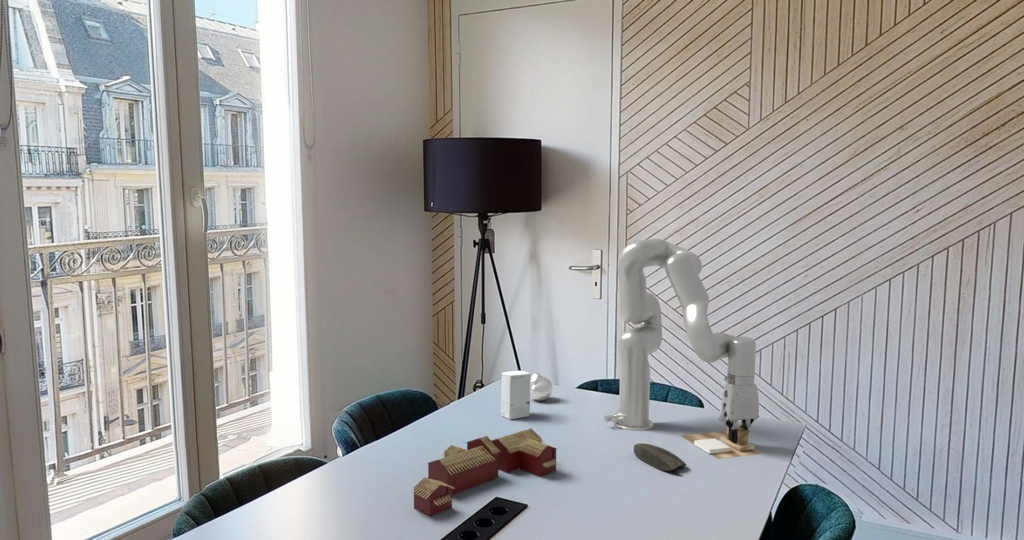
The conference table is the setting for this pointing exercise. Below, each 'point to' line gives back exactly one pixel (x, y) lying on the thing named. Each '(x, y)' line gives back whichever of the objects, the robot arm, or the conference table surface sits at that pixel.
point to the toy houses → (481, 467)
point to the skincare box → (515, 394)
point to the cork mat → (717, 436)
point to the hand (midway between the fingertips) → (738, 440)
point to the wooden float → (739, 440)
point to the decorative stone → (657, 457)
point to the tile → (712, 446)
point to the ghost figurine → (540, 387)
